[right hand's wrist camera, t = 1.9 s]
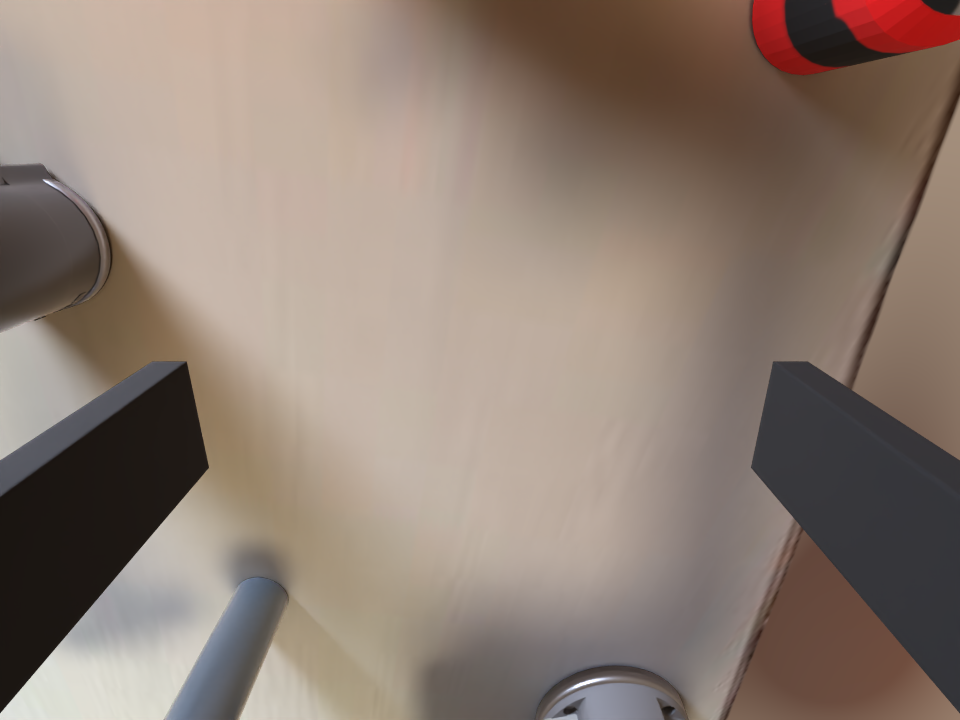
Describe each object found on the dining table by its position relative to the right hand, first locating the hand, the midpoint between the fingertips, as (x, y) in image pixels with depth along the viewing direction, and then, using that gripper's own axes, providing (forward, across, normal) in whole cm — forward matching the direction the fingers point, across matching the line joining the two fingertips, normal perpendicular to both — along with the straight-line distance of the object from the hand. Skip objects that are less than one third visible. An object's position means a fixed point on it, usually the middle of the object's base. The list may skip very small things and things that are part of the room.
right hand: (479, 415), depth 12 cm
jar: (+28, +20, +33) cm, 48 cm away
